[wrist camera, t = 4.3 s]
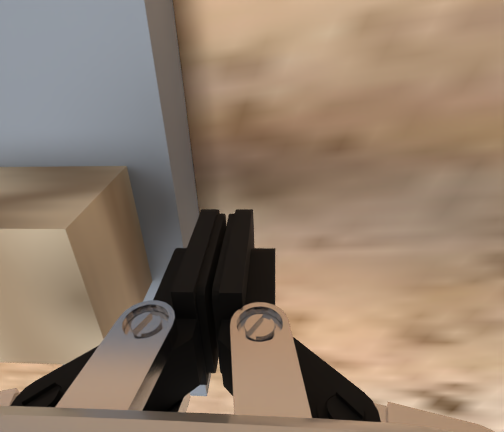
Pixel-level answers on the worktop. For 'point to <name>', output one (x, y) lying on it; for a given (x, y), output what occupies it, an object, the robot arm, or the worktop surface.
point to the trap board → (103, 106)
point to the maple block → (66, 259)
